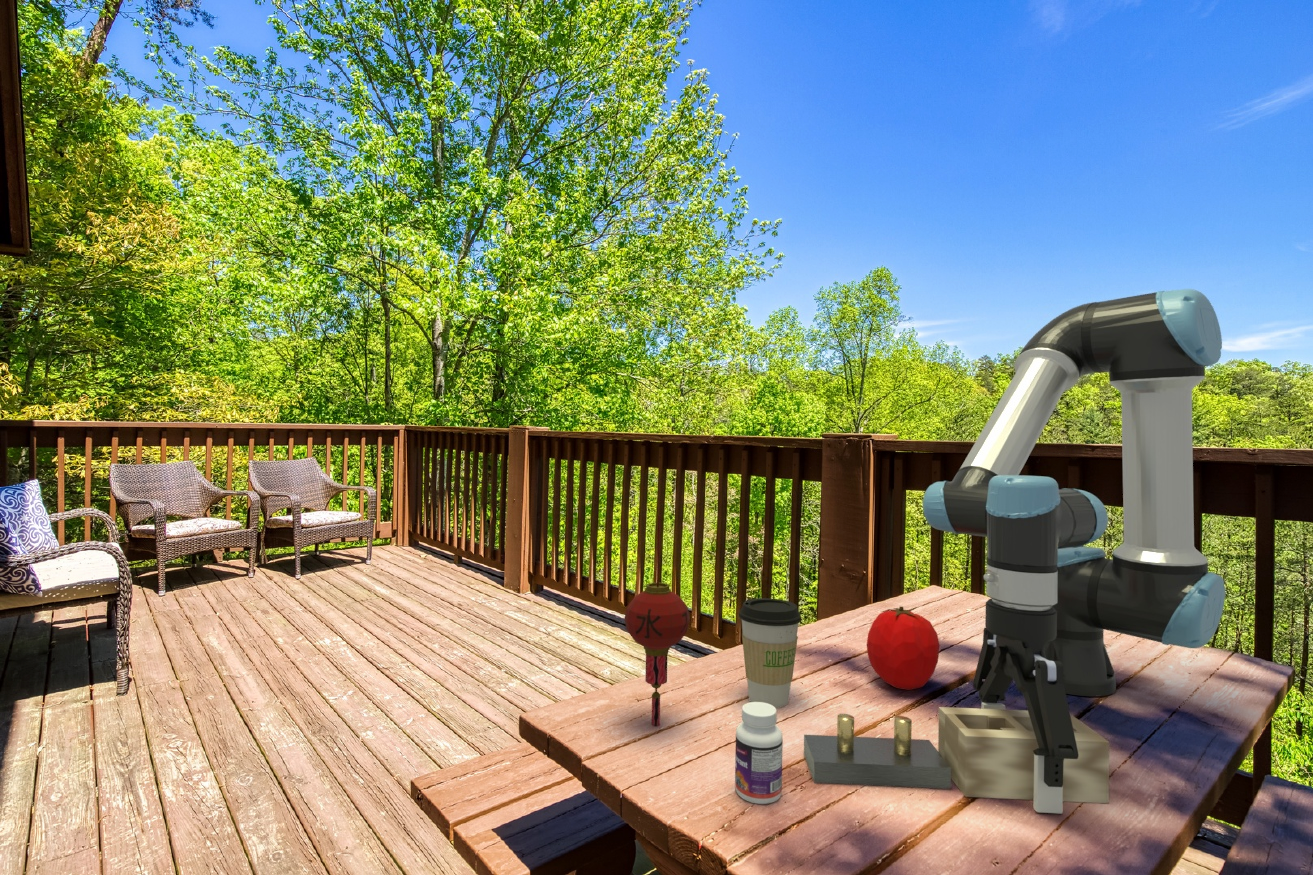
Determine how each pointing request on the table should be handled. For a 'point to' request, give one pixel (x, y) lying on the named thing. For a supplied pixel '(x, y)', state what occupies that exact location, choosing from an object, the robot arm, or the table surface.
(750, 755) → the pill bottle
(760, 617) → the coffee cup
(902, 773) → the post rail
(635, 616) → the lantern
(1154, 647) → the table surface
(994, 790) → the cinder block
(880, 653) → the tomato
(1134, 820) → the table surface
